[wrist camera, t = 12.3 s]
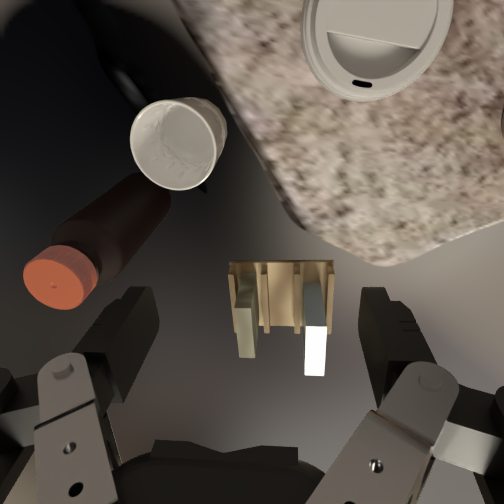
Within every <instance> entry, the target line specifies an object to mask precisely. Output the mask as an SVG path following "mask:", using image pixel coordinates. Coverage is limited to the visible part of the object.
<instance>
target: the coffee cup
mask: <svg viewBox="0 0 504 504" xmlns="http://www.w3.org/2000/svg"><path fill="white" fill-rule="evenodd" d="M453 4H454V0H304V4H303V9H302V15H301V27H300V31H301V43H302V48H303V53H304V56H305V59H306V62H307V64H308V66H309V68H310V70H311V72H312V73H313V75H314V76H315V78H316V79H317V80H318V81H319V82H320V84H321V85H322V86H324V87H325V88H326V89H327V90H328V91H330V92H331V93H333V94H335V95H337V96H339V97H341V98H344V99H347V100H352V101H360V102H366V101H375V100H380V99H383V98H386V97H389V96H391V95H394V94H396V93H398V92H400V91H401V90H403V89H404V88H406V87H407V86H409V85H410V84H411V83H413V82H414V81H415V80H416V79H417V78H418V77H419V76H420V75H421V74H422V73H423V72H424V71H425V70H426V69H427V68H428V67H429V65H430V64H431V63H432V61H433V60H434V59H435V57H436V56H437V54H438V52H439V51H440V49H441V47H442V45H443V43H444V40H445V38H446V36H447V33H448V30H449V27H450V23H451V19H452V13H453Z"/></svg>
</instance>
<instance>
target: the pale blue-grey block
mask: <svg viewBox="0 0 504 504" xmlns="http://www.w3.org/2000/svg"><path fill="white" fill-rule="evenodd" d="M302 329H303V349H304V368H305V369H304V371H305V375H314V376H324V367H325V351H326V334H327V323H326V316H325V309H324V302H323V295H322V288H321V283H303V320H302Z"/></svg>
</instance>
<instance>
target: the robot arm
mask: <svg viewBox="0 0 504 504" xmlns="http://www.w3.org/2000/svg"><path fill="white" fill-rule="evenodd" d="M502 133H503V136H504V113H503V118H502ZM158 330H159V315H158V311H157V307H156V302H155V298H154V294H153V291H152V288H151V287H150V286H130V287H129V288H128V289H127V291H126V292H125V293H124V295H123V296H122V298H121V299H116V300H114V301H113V302H112V303H110V304H109V305H108V306H106V307H105V308H104V310H103V311H102V312H101V314H100V315H99V317H98V318H97V319H96V320H95V322H94V323H93V326H91V327H90V329H89V330H88V331H87V332H86V334H85V335H84V336H83V338H82V339H81V340H80V342H79V343H78V344H77V346H76V347H75V348H74V350H73V351H72V352H71V353H67V354H64V355H60V356H58V357H56V358H54V359H52V360H51V361H49V362H48V363H47V364H46V365H45V366H44V367H43V368H42V369H41V370H40V372H39V373H37V374H33V375H29V376H24V377H20V378H16V379H14V378H13V376H12V374H11V372H10V371H9V370H8V369H6V368H0V504H3V502H4V501H5V499H6V497H7V496H8V494H9V492H10V491H11V489H12V487H13V486H14V484H15V482H16V481H17V479H18V477H19V476H20V474H21V472H22V471H23V469H24V467H25V466H26V464H27V462H28V461H29V459H30V457H31V456H32V454H33V452H34V451H35V464H36V465H35V466H36V485H37V504H417V502H418V500H419V497H420V495H421V493H422V491H423V488H424V486H425V484H426V482H427V479H428V477H429V475H430V473H431V470H432V468H433V466H434V464H435V461H436V459H440V460H443V461H446V462H449V463H451V464H454V465H457V466H460V467H463V468H465V469H468V470H471V471H473V473H474V476H475V479H476V481H477V484H478V486H479V489H480V492H481V494H482V497H483V499H484V502H485V504H504V386H502V387H500V388H499V389H498V390H497V391H496V394H495V395H493V394H489V393H485V392H482V391H478V390H475V389H471V388H468V387H465V386H463V385H460V384H458V382H457V380H456V379H455V377H454V376H453V375H452V374H451V373H450V372H449V371H447V370H446V369H444V368H443V367H441V366H439V365H437V363H436V361H435V359H434V356H433V354H432V352H431V350H430V348H429V346H428V344H427V342H426V340H425V338H424V336H423V334H422V332H420V328H419V326H418V324H417V323H416V320H415V318H414V316H413V314H412V312H411V310H410V309H409V308H407V307H406V306H405V305H404V304H403V303H402V302H401V301H390V299H389V296H388V294H387V292H386V289H385V288H384V287H363V288H362V291H361V299H360V309H359V318H358V330H359V331H358V332H359V338H360V342H361V346H362V350H363V353H364V358H365V362H366V365H367V369H368V373H369V377H370V381H371V385H372V389H373V393H374V397H375V401H376V405H377V409H378V410H377V411H376V412H375V411H374V410H370V411H369V412H368V413H367V414H366V416H365V417H364V419H363V420H362V422H361V423H360V425H359V426H358V427H357V429H356V430H355V432H354V433H353V435H352V436H351V438H350V439H349V441H348V443H347V444H346V445H345V447H344V448H343V450H342V451H341V453H340V454H339V455H338V457H337V458H336V460H335V461H334V463H333V464H332V466H331V467H330V468H329V470H328V471H327V473H326V474H325V473H324V472H323V471H321V470H319V469H318V468H316V467H315V466H313V465H311V464H309V463H306V462H304V461H301V460H298V448H297V447H280V446H279V447H278V446H257V447H252V448H247V449H242V450H237V451H232V452H227V453H221V452H218V451H215V450H212V449H209V448H206V447H203V446H200V445H198V444H195V443H192V442H188V441H169V440H155V442H154V445H153V448H152V451H151V452H149V453H145V454H143V455H139V456H137V457H135V458H133V459H130V460H129V461H127V462H125V463H123V464H122V462H121V459H120V455H119V452H118V448H117V444H116V441H115V437H114V434H113V430H112V427H111V423H110V419H109V416H108V413H107V409H108V407H109V405H110V403H124V401H125V399H126V397H127V395H128V393H129V391H130V389H131V387H132V385H133V383H134V381H135V379H136V376H137V374H138V372H139V370H140V368H141V366H142V364H143V362H144V360H145V358H146V356H147V354H148V352H149V350H150V348H151V346H152V343H153V341H154V340H155V337H156V335H157V333H158Z"/></svg>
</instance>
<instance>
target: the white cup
mask: <svg viewBox="0 0 504 504" xmlns="http://www.w3.org/2000/svg"><path fill="white" fill-rule="evenodd" d="M226 137H227V127H226V120H225V118H224V117H223V115H222V113H221V111H220V110H219V108H218V107H217V106H215V105H214V104H213V103H211V102H210V101H208V100H207V99H201V98H196V97H191V98H190V97H185V98H175V99H169V100H163V101H157V102H154V103H152V104H150V105H148V106H146V107H145V108H144V109H143V110H141V112H140V113H139V114H138V115H137V117H136V118H135V120H134V122H133V125H132V128H131V133H130V146H131V151H132V154H133V157H134V160H135V162H136V164H137V165H138V167H139V168H140V170H141V171H142V172H143V173H144V175H145V176H146V177H148V178H149V179H150V180H151V181H153V182H154V183H156V184H157V185H159V186H162V187H164V188H167V189H172V190H186V189H190V188H193V187H195V186H197V185H199V184H201V183H202V182H203V181H204V180H205V179H206V178H207V177H208V176H209V174H210V173H211V171H212V169H213V167H214V165H215V164H216V162H217V160H218V158H219V156H220V154H221V151H222V149H223V147H224V142H225V140H226Z"/></svg>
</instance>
